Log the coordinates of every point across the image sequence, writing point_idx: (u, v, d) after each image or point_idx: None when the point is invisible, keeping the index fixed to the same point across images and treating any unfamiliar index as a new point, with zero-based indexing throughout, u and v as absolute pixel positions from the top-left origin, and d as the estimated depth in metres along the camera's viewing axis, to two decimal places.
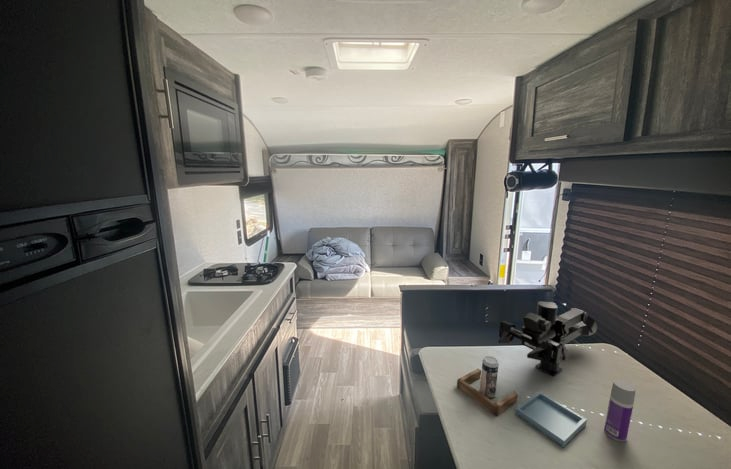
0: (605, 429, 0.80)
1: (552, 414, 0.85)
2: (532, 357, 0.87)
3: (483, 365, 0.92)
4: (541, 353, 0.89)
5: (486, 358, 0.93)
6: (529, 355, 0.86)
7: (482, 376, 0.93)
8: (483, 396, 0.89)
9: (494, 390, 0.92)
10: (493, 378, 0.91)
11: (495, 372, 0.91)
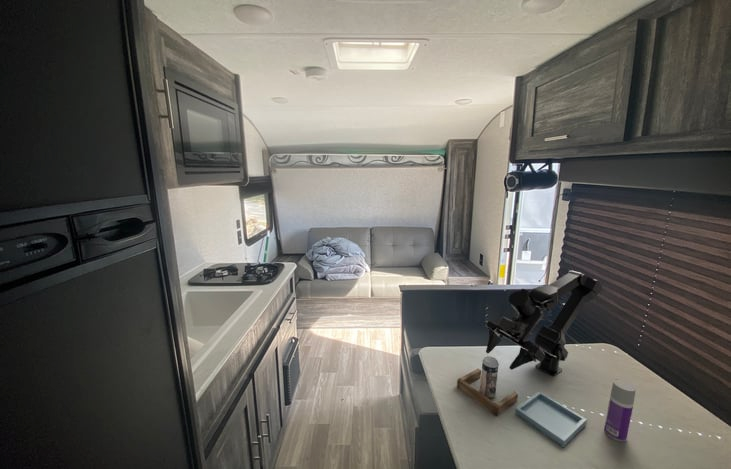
0: (605, 429, 0.80)
1: (552, 414, 0.85)
2: (516, 366, 0.90)
3: (483, 365, 0.92)
4: (524, 357, 0.90)
5: (486, 358, 0.93)
6: (511, 368, 0.89)
7: (482, 376, 0.93)
8: (483, 396, 0.89)
9: (494, 390, 0.92)
10: (493, 378, 0.91)
11: (495, 372, 0.91)
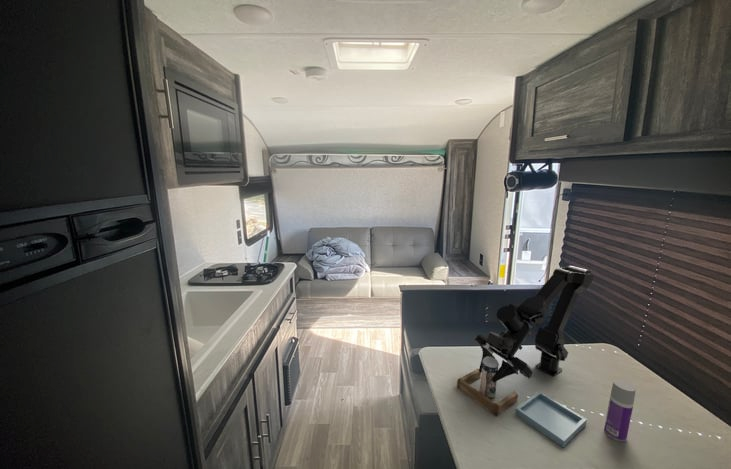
0: (605, 429, 0.80)
1: (552, 414, 0.85)
2: (498, 379, 0.90)
3: (483, 365, 0.92)
4: (506, 369, 0.90)
5: (486, 358, 0.93)
6: (493, 380, 0.90)
7: (482, 376, 0.93)
8: (483, 396, 0.89)
9: (494, 390, 0.92)
10: None
11: (495, 372, 0.91)
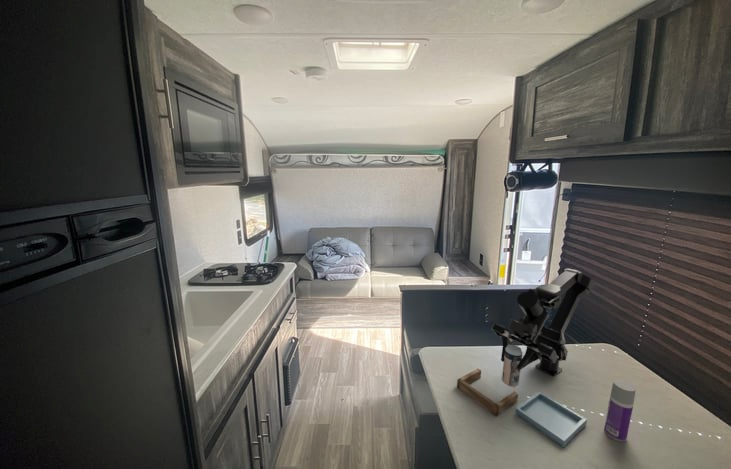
0: (605, 429, 0.80)
1: (552, 414, 0.85)
2: (523, 367, 0.88)
3: (507, 354, 0.90)
4: (530, 356, 0.89)
5: (509, 346, 0.91)
6: (519, 368, 0.88)
7: (505, 365, 0.90)
8: (483, 396, 0.89)
9: (518, 378, 0.90)
10: None
11: (520, 360, 0.88)
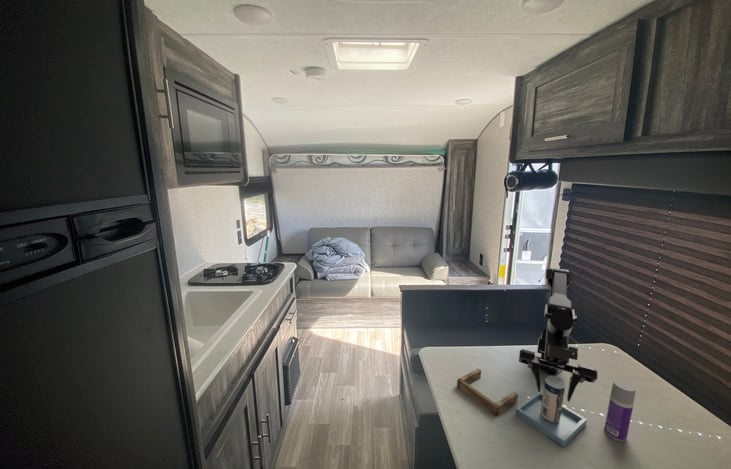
0: (605, 429, 0.80)
1: None
2: None
3: (552, 388, 0.81)
4: None
5: (549, 379, 0.82)
6: (569, 399, 0.80)
7: (550, 401, 0.82)
8: (483, 396, 0.89)
9: (560, 411, 0.83)
10: (562, 399, 0.81)
11: (563, 392, 0.81)
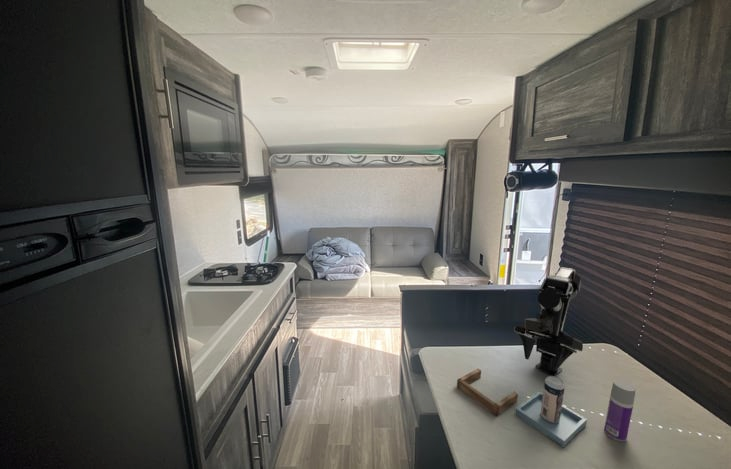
0: (605, 429, 0.80)
1: None
2: (559, 365, 0.86)
3: (551, 389, 0.81)
4: (563, 352, 0.87)
5: (549, 380, 0.82)
6: (555, 367, 0.86)
7: (549, 402, 0.81)
8: (483, 396, 0.89)
9: None
10: (562, 400, 0.81)
11: (563, 392, 0.81)
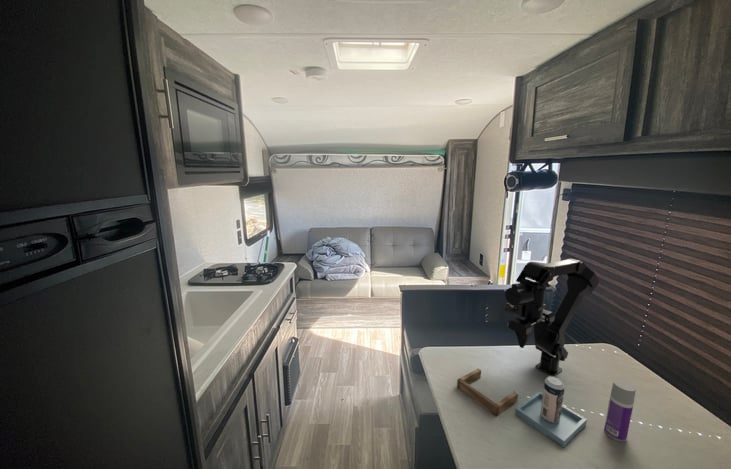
0: (605, 429, 0.80)
1: None
2: (522, 344, 0.96)
3: (551, 389, 0.81)
4: (522, 333, 0.95)
5: (549, 380, 0.82)
6: (520, 346, 0.97)
7: (549, 402, 0.81)
8: (483, 396, 0.89)
9: None
10: (562, 400, 0.81)
11: (563, 392, 0.81)
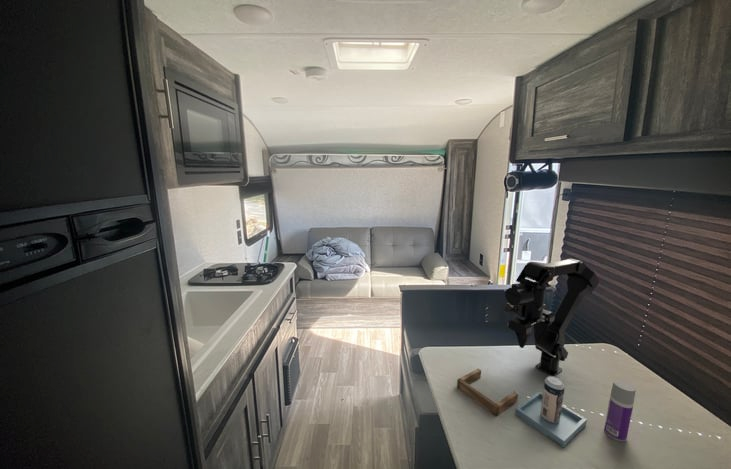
0: (605, 429, 0.80)
1: None
2: (522, 344, 0.96)
3: (551, 389, 0.81)
4: (522, 333, 0.95)
5: (549, 380, 0.82)
6: (520, 346, 0.97)
7: (549, 402, 0.81)
8: (483, 396, 0.89)
9: None
10: (562, 400, 0.81)
11: (563, 392, 0.81)
